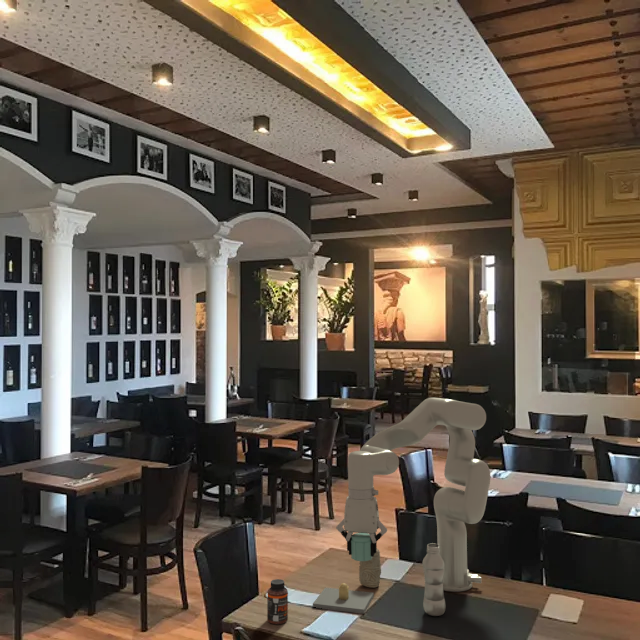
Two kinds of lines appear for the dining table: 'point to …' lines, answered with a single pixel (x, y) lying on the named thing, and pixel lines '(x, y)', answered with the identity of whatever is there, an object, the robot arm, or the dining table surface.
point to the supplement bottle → (277, 602)
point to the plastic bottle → (433, 581)
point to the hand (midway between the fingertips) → (361, 553)
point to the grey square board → (343, 599)
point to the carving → (370, 571)
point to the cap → (361, 547)
